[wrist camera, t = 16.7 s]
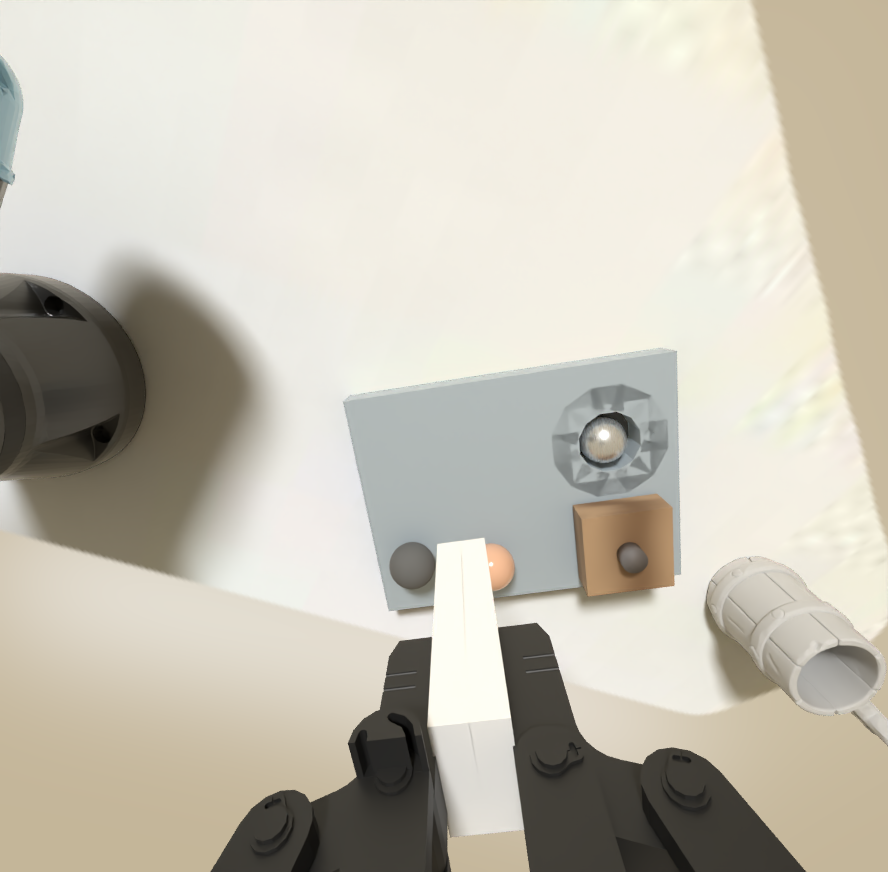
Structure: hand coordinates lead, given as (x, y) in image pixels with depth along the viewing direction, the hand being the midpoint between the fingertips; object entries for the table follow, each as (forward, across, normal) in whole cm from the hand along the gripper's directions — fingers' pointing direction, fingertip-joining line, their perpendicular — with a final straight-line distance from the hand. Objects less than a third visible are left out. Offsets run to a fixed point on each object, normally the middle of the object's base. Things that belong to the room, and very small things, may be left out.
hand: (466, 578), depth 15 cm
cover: (+20, +11, -11) cm, 25 cm away
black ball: (+18, -5, -10) cm, 21 cm away
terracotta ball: (+18, +1, -11) cm, 21 cm away
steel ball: (+21, +11, -3) cm, 23 cm away
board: (+22, +4, -6) cm, 24 cm away
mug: (+23, +24, -21) cm, 39 cm away
